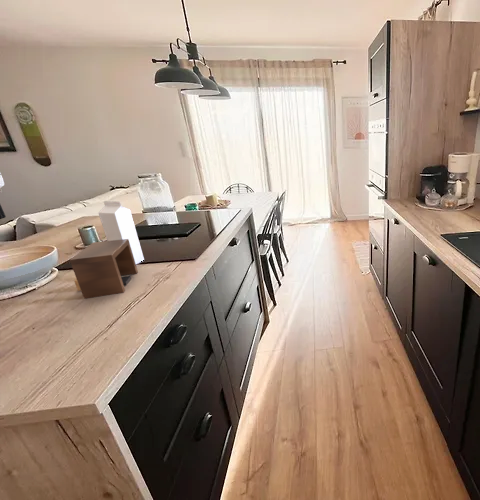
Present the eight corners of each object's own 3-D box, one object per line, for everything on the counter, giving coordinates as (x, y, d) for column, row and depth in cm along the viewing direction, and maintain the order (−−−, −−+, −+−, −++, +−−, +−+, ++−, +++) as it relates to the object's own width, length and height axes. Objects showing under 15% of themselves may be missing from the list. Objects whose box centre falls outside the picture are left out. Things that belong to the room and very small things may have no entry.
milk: (130, 267, 98) (111, 203, 90) (115, 266, 99) (94, 203, 91) (144, 260, 103) (127, 199, 96) (129, 259, 104) (111, 199, 96)
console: (84, 298, 78) (69, 259, 74) (104, 276, 91) (92, 242, 87) (123, 292, 81) (111, 254, 77) (138, 271, 94) (128, 238, 90)
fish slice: (75, 292, 81) (71, 282, 80) (83, 285, 85) (79, 275, 84) (126, 285, 85) (123, 275, 84) (131, 278, 90) (128, 269, 88)
